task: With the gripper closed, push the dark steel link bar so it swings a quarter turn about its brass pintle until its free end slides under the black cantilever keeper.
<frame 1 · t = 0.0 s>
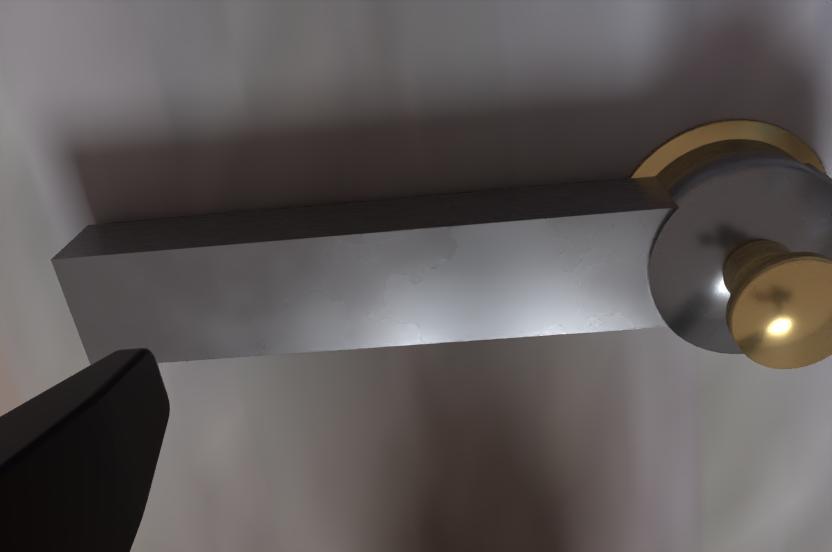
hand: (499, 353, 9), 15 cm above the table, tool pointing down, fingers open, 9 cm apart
pintle: (717, 223, 24), on the table
link: (448, 269, 23), point 2 cm above the table, hinge at 90.0°
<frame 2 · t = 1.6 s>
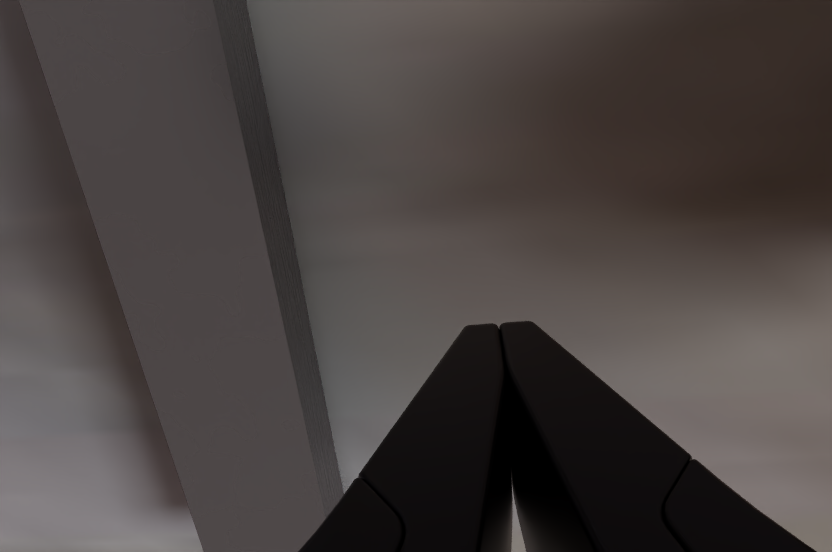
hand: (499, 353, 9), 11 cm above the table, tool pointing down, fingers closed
link: (191, 204, 18), point 2 cm above the table, hinge at 90.0°
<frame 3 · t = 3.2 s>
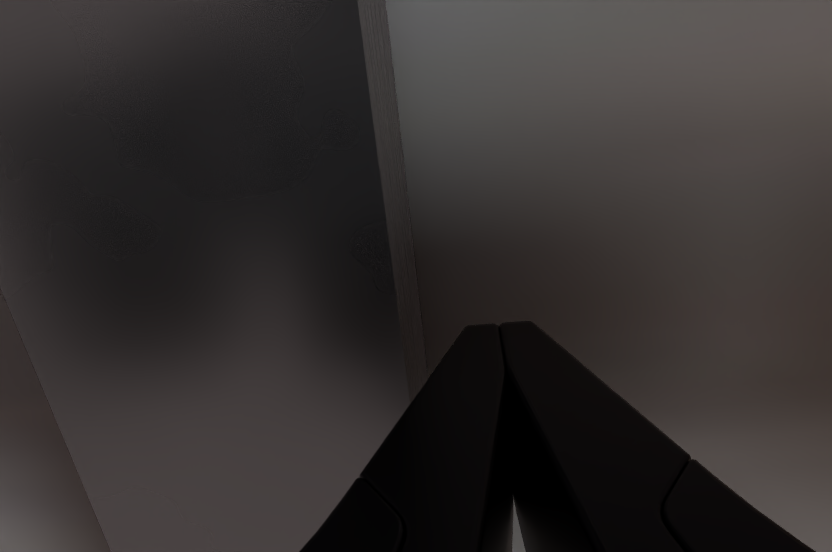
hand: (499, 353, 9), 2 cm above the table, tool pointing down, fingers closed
link: (275, 440, 10), point 2 cm above the table, hinge at 90.0°, touching gripper
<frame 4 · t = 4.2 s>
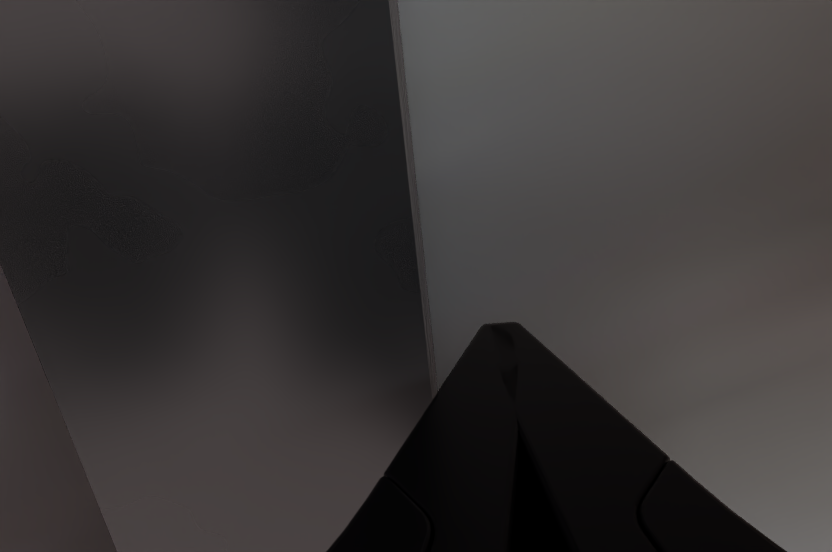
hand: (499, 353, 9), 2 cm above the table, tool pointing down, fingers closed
link: (287, 445, 9), point 2 cm above the table, hinge at 70.7°, touching gripper
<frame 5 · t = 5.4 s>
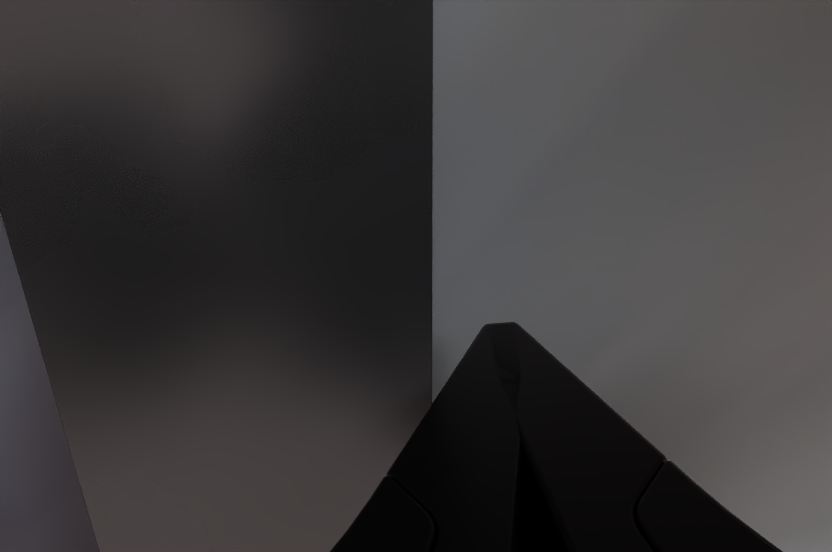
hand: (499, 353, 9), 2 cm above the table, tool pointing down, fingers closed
link: (275, 435, 9), point 2 cm above the table, hinge at 40.2°, touching gripper
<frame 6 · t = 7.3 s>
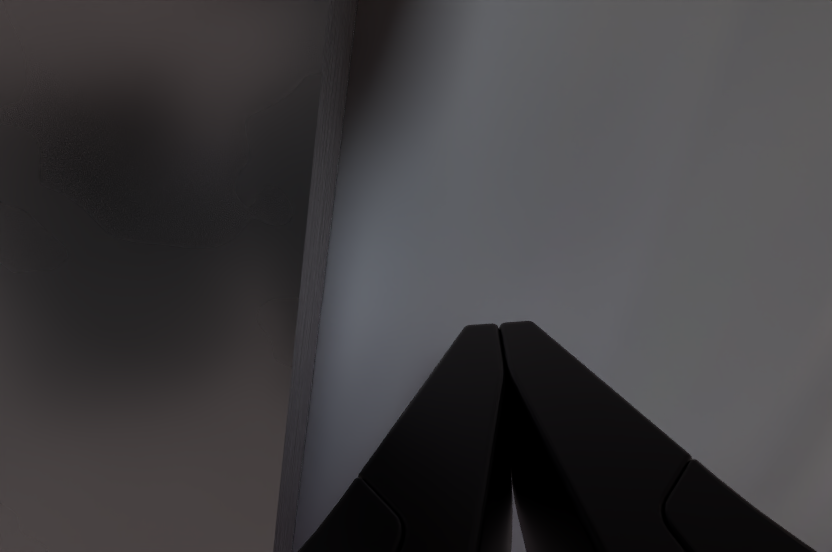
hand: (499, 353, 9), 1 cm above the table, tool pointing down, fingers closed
link: (137, 464, 9), point 2 cm above the table, hinge at 4.4°
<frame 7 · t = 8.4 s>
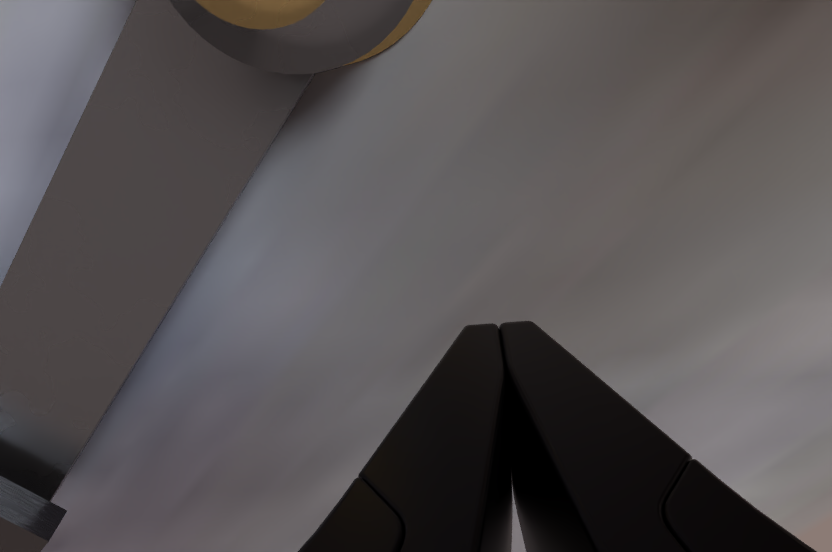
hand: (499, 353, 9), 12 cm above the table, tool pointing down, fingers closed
link: (131, 225, 20), point 2 cm above the table, hinge at 4.4°
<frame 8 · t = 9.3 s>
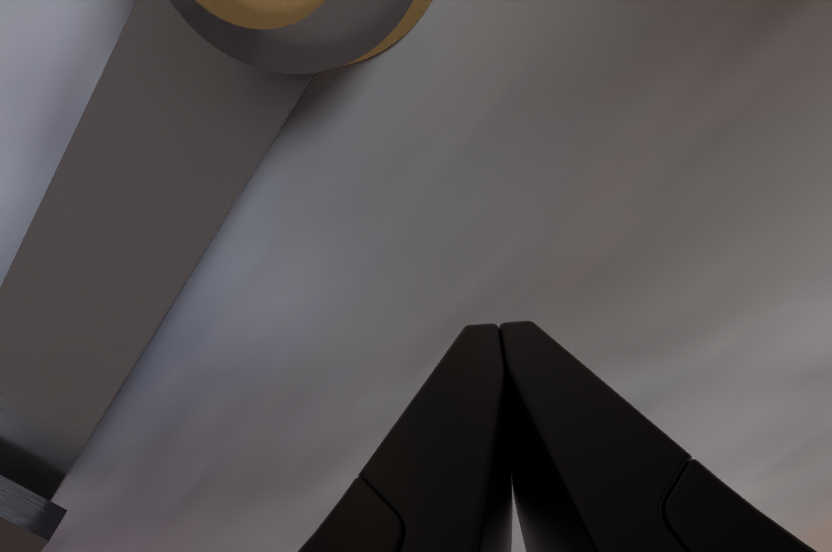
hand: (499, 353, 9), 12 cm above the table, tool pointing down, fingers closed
link: (131, 225, 20), point 2 cm above the table, hinge at 4.4°
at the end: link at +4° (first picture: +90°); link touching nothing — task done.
